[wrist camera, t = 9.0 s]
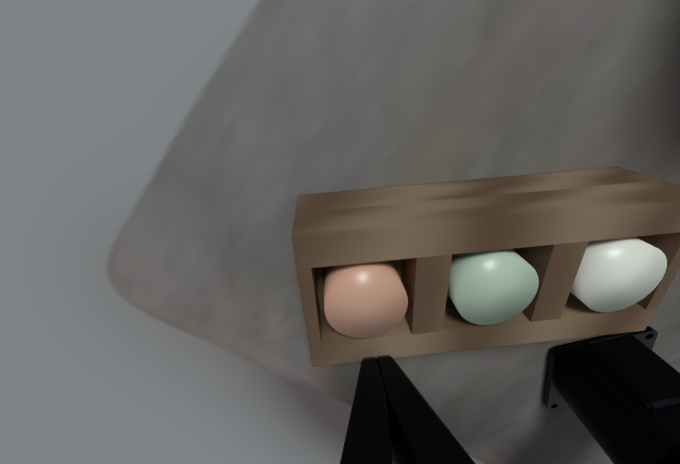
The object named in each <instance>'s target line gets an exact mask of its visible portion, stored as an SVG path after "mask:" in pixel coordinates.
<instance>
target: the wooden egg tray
mask: <svg viewBox="0 0 680 464" xmlns="http://www.w3.org/2000/svg"><path fill="white" fill-rule="evenodd" d="M626 237H636V238H638V239H640V240H642V241H644V242H646V243H648V244H650V245H652V246H654V247H656V248H658V249H660V250H661V251H662V252H663V253H664V254H665V256H666V259H667V268H666V272H665V274H664V276H663V278H662V280H661V281H660V283H659V284H658V285H657V287H656V288H655V289H654V290H653V291H652V292H651V293H650V294H648V295H647V296H646V297H645V298H643V299H642V300H640V301H639V302H637V303H635V304H633V305H631V306H629V307H627V308H624V309H621V310H618V311H613V312H598V311H594V310H592V309H590V308H589V307H588V306H586V305H585V304H584V303H583V302H582V301H580V300H579V299H578V298H577V297H576V296H574V295H573V294H572V293H571V292H570V291H571V288H572V286H573V283H574V280H575V277H576V275H577V272H578V269H579V267H580V264H581V261H582V258H583V256H584V253H585V250H586V248H587V245H588V242H589V241H595V240H606V239H616V238H626ZM292 242H293V248H294V254H295V261H296V267H297V273H298V279H299V285H300V292H301V298H302V304H303V310H304V317H305V323H306V329H307V335H308V342H309V348H310V354H311V360H312V367H314V366H324V365H333V364H342V363H351V362H360V361H362V359H363V358H364V357H372V356H374V357H376V358H377V356H381V355H390V356H391V357H392V358H397V357H406V356H416V355H425V354H434V353H443V352H452V351H461V350H471V349H480V348H489V347H498V346H507V345H517V344H526V343H535V342H544V341H553V340H563V339H572V338H581V337H590V336H599V335H608V334H618V333H627V332H636V331H645V329H646V327H647V325H648V324H649V322H650V320H651V318H652V316H653V315H654V313H655V311H656V309H657V307H658V306H659V304H660V302H661V300H662V298H663V297H664V295H665V293H666V291H667V290H668V288H669V286H670V284H671V282H672V281H673V279H674V277H675V275H676V273H677V272H678V270H679V268H680V186H678V185H675V184H672V183H668V182H665V181H661V180H658V179H655V178H651V177H648V176H645V175H641V174H638V173H635V172H631V171H628V170H624V169H621V168H618V167H614V168H602V169H591V170H580V171H568V172H557V173H546V174H534V175H523V176H511V177H500V178H489V179H477V180H466V181H455V182H443V183H432V184H421V185H409V186H398V187H386V188H375V189H364V190H352V191H341V192H330V193H318V194H307V195H298V198H297V205H296V211H295V218H294V225H293V232H292ZM503 249H513V250H514V251H515V252H516V253H517V254H518V255H519V256H521V257H522V258H523V259H524V260H525V261H526V262H527V263H529V264H530V265H531V266H532V267H533V268H534V269H535V271H536V273H537V275H538V280H539V285H538V290H537V293H536V295H535V297H534V299H533V300H532V301H531V303H530V304H529V305H528V306H527V307H526V308H525V309H524V310H523V311H522V312H520V313H519V314H518V315H516V316H515V317H513V318H511V319H509V320H506V321H504V322H501V323H497V324H492V325H479V324H474V323H471V322H469V321H467V320H466V319H464V318H463V317H462V316H461V315H460V313H459V312H458V310H457V308H456V307H455V305H454V303H453V302H452V300H451V299H450V297H449V295H448V294H447V292H448V284H449V276H450V269H451V261H452V254H461V253H472V252H482V251H492V250H503ZM389 260H393V263H394V265H395V268H396V270H397V272H398V275H399V277H400V279H401V282H402V284H403V286H404V289H405V291H406V294H407V297H408V307H407V311H406V313H405V315H404V317H403V319H402V320H401V321H400V322H399V323H398V324H397V325H396V326H395V327H394V328H392V329H391V330H389V331H388V332H386V333H384V334H381V335H378V336H375V337H370V338H354V337H349V336H346V335H343V334H341V333H339V332H338V331H336V330H335V329H334V328H333V327H332V326H331V325H330V324H329V323H328V321H327V319H326V316H325V311H324V287H323V270H324V267H327V266H338V265H348V264H358V263H368V262H379V261H389Z"/></svg>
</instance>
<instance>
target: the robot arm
mask: <svg viewBox="0 0 680 464" xmlns="http://www.w3.org/2000/svg"><path fill="white" fill-rule="evenodd" d="M656 337H657V331H655V330H654V329H653V328H651V327H649V326H647V327H646V329H645V331H636V332H627V333H618V334H609V335H605V336H600V337H596V338H592V339H587V340H583V341H578V342H574V343H570V344H565V345H561V346H557V347H555V348H553V349H552V350H551V352H550V359H549V367H548V374H547V382H546V389H545V397H544V404H545V406H546V407H547V409H548V410H557V409H561V408H566V407H570V408H571V409H572V410H573V412H574V413H575V414H576V416H577V417H578V418H579V419H580V421H581V422H582V423H583V425H584V426H585V427H586V428H587V430H588V431H589V432H590V434H591V435H592V436H593V437H594V439H595V440H596V441H597V443H598V444H599V445H600V447H601V448H602V449H603V450H604V452H605V453H606V454H607V456H608V457H609V458H610V459H611V461H612V462H613V463H614V464H680V373H679V372H678V371H677V370H676V369H674V368H673V367H672V366H671V365H669V364H668V363H667V362H666V361H664V360H663V359H662V358H661V357H659V356H658V355H657V354H656V353H655V352H653V351H652V348H653V345H654V343H655V340H656ZM392 459H393V460H392ZM393 462H394V464H475V463H474V461H473V460H472V459H471V457H470V456H469V455H468V454H467V452H466V451H465V450H464V449H463V447H462V446H461V445H460V443H459V442H458V441H457V440H456V438H455V437H454V436H453V435H452V433H451V432H450V431H449V429H448V428H447V427H446V426H445V424H444V423H443V422H442V420H441V419H440V418H439V417H438V415H437V414H436V413H435V412H434V410H433V409H432V408H431V406H430V405H429V404H428V403H427V401H426V400H425V399H424V397H423V396H422V395H421V394H420V392H419V391H418V390H417V389H416V387H415V386H414V385H413V383H412V382H411V381H410V380H409V378H408V377H407V376H406V375H405V373H404V372H403V371H402V369H401V368H400V367H399V366H398V364H397V363H396V362H395V360H394V359H393V358H392V357H391V356H390V355H381V356H377V358H376V357H374V356H372V357H364V358H363V359H362V362H361V367H360V372H359V377H358V381H357V386H356V391H355V395H354V400H353V405H352V410H351V414H350V419H349V424H348V428H347V433H346V438H345V443H344V447H343V453H342V457H341V462H340V464H393Z"/></svg>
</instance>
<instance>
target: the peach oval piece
mask: <svg viewBox="0 0 680 464" xmlns="http://www.w3.org/2000/svg"><path fill="white" fill-rule="evenodd" d="M323 287H324V311H325V316H326V319H327V321H328V323H329V324H330V325H331V326H332V327H333V328H334V329H335V330H336V331H338V332H339V333H341V334H343V335H346V336H349V337H354V338H370V337H375V336H378V335H381V334H384V333H386V332H388V331H389V330H391V329H392V328H394V327H395V326H396V325H397V324H398V323H399V322H400V321H401V320H402V319H403V317H404V315H405V313H406V311H407V307H408V297H407V294H406V291H405V289H404V286H403V284H402V282H401V279H400V277H399V275H398V272H397V270H396V268H395V265H394V263H393V260H389V261H379V262H368V263H358V264H348V265H338V266H327V267H324V270H323Z"/></svg>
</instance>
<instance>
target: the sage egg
mask: <svg viewBox="0 0 680 464" xmlns="http://www.w3.org/2000/svg"><path fill="white" fill-rule="evenodd" d="M538 285H539V280H538V275H537V273H536V271H535V269H534V268H533V267H532V266H531V265H530V264H529V263H527V262H526V261H525V260H524V259H523V258H522V257H521V256H519V255H518V254H517V253H516V252H515V251H514V250H513V249H503V250H492V251H482V252H472V253H461V254H452V261H451V269H450V276H449V284H448V292H447V294H448V295H449V297H450V299H451V300H452V302H453V303H454V305H455V307H456V308H457V310H458V312H459V313H460V315H461V316H462V317H463V318H464V319H466V320H467V321H469V322H471V323H474V324H479V325H492V324H497V323H501V322H504V321H506V320H509V319H511V318H513V317H515V316H516V315H518V314H519V313H520V312H522V311H523V310H524V309H525V308H526V307H527V306H528V305H529V304H530V303H531V301H532V300H533V299H534V297H535V295H536V293H537V290H538Z"/></svg>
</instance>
